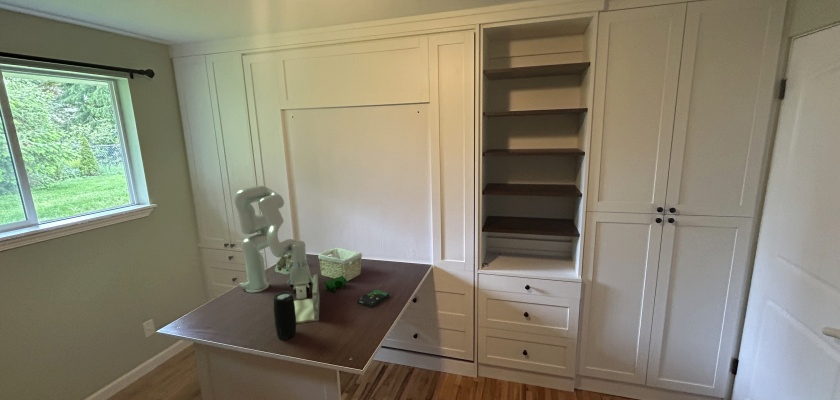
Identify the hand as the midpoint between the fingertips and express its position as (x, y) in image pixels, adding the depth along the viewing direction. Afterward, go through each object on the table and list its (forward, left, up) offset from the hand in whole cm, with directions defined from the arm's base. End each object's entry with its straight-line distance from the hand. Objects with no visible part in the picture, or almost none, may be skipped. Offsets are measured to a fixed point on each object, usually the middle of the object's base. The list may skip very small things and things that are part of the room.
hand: (302, 293), depth 188 cm
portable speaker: (-4, -39, -1) cm, 39 cm away
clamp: (+19, +2, -1) cm, 19 cm away
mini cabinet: (0, 0, -1) cm, 1 cm away
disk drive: (+38, -17, -2) cm, 42 cm away
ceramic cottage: (-12, +41, -1) cm, 43 cm away
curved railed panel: (0, -19, -1) cm, 19 cm away
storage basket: (+22, +22, -1) cm, 32 cm away
